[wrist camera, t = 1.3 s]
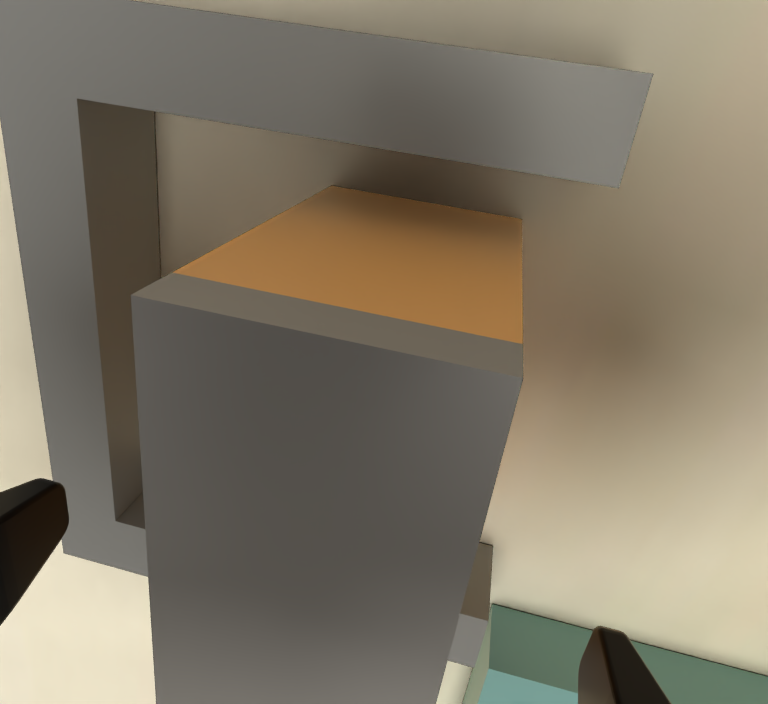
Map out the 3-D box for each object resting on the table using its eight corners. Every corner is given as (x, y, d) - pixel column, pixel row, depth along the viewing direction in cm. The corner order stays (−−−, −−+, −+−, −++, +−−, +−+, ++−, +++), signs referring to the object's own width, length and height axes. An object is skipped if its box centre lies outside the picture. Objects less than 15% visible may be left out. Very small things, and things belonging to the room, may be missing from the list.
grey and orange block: (521, 218, 15) (523, 377, 7) (456, 497, 19) (408, 805, 11) (332, 185, 16) (131, 294, 8) (307, 461, 19) (157, 726, 11)
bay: (626, 75, 13) (653, 73, 10) (480, 589, 20) (474, 667, 17) (77, -3, 15) (-21, -21, 12) (119, 495, 22) (63, 553, 19)
